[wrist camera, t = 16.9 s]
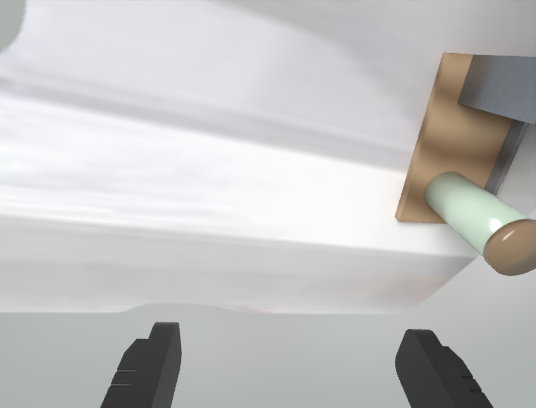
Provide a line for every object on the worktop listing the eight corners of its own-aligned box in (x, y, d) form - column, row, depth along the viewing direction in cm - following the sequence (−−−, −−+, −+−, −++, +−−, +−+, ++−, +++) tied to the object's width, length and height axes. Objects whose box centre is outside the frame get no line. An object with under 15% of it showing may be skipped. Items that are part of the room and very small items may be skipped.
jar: (417, 209, 41) (482, 275, 30) (430, 169, 39) (507, 225, 27) (458, 210, 42) (538, 275, 30) (474, 170, 39) (568, 226, 27)
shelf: (443, 52, 34) (460, 53, 31) (535, 60, 35) (560, 61, 32) (394, 216, 44) (404, 227, 41) (467, 219, 44) (482, 231, 41)
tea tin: (473, 54, 33) (564, 58, 23) (519, 58, 33) (628, 63, 23) (457, 102, 35) (533, 124, 25) (500, 105, 35) (592, 128, 26)
